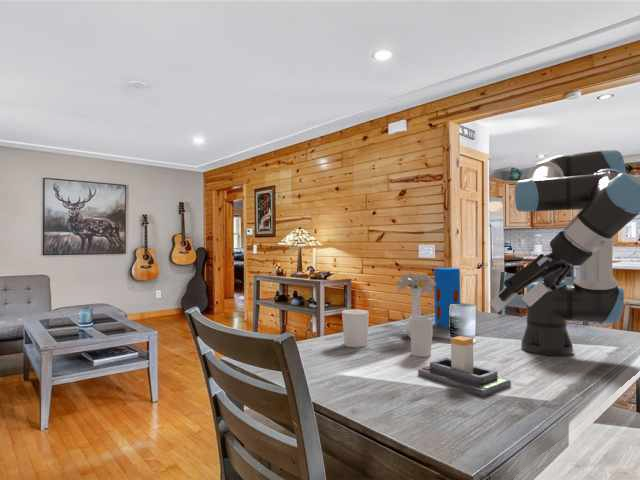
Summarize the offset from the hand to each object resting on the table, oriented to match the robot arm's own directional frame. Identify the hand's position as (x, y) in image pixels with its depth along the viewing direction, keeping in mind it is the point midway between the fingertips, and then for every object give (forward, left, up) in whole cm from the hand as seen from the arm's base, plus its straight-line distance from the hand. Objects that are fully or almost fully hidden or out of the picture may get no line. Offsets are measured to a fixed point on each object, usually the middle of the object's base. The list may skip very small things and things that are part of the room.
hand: (510, 304), depth 97 cm
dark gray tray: (+10, -9, -22) cm, 26 cm away
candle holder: (+44, -40, -22) cm, 64 cm away
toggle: (+10, -9, -20) cm, 24 cm away
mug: (+20, -33, -22) cm, 45 cm away
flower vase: (+23, -57, -22) cm, 65 cm away
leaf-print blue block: (+10, -81, -22) cm, 85 cm away
